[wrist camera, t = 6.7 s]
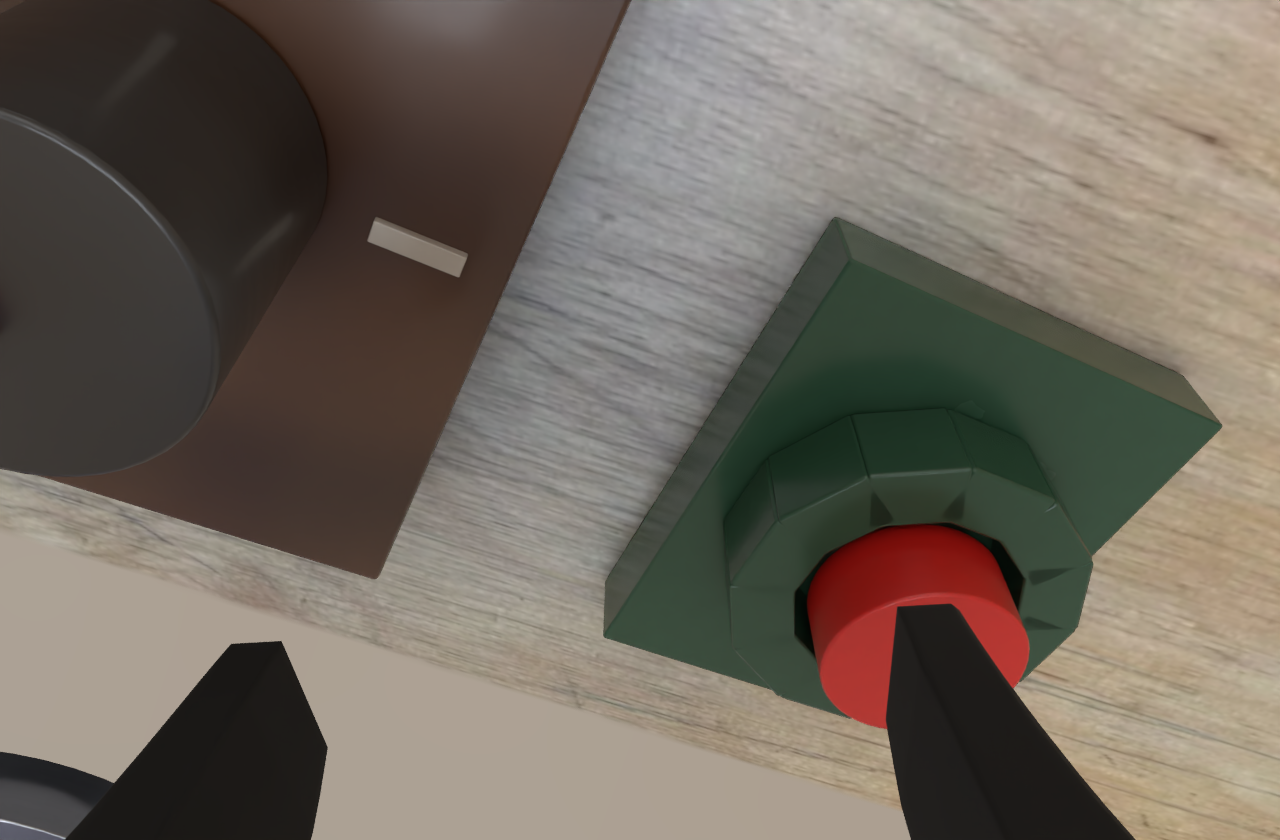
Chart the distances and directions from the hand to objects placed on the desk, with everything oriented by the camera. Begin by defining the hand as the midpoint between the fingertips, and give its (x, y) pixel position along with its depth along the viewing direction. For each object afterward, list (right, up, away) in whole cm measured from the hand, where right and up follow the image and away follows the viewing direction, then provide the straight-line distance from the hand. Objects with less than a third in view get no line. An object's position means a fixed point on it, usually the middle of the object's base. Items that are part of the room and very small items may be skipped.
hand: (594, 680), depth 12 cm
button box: (+6, +2, +9) cm, 11 cm away
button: (+6, 0, +7) cm, 9 cm away
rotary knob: (-6, +7, +2) cm, 9 cm away
